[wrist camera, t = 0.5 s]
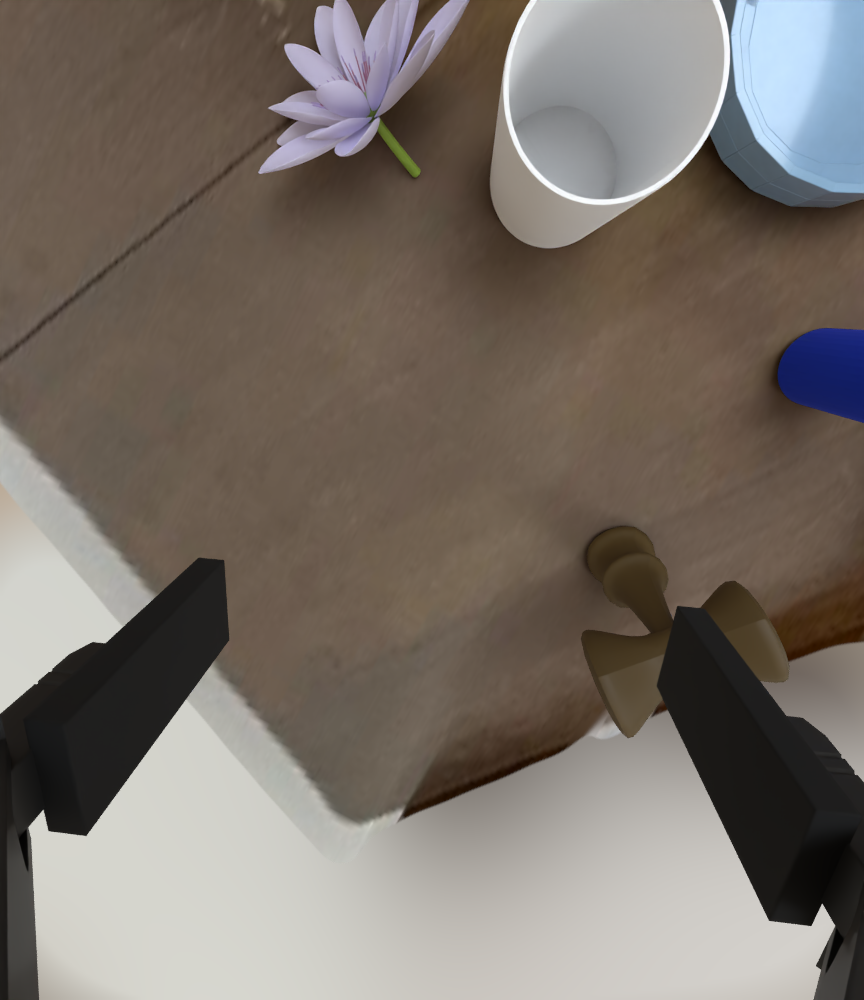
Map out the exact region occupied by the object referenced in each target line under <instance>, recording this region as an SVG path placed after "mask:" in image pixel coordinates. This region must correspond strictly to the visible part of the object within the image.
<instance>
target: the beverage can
mask: <svg viewBox="0 0 864 1000" xmlns="http://www.w3.org/2000/svg"><path fill="white" fill-rule="evenodd" d="M778 382H779V386H780V388H781V390H782V392H783V393H784V395H785V396H786V397H787V398H788V399H790V400H791V401H793V402H795V403H797V404H801V405H804V406H808V407H811V408H814V409H818V410H821V411H825V412H828V413H832V414H835V415H838V416H842V417H845V418H849V419H852V420H856V421H859V422H862V423H864V330H853V329H834V328H822V329H816V330H813V331H810V332H808V333H806V334H804V335H802V336H800V337H799V338H798V339H796V340H795V341H794V342H793V343H792V344H791V345H790V346H789V347H788V349H787V350H786V351H785V353H784V355H783V356H782V359H781V361H780V364H779V367H778Z"/></svg>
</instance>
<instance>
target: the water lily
mask: <svg viewBox="0 0 864 1000" xmlns="http://www.w3.org/2000/svg"><path fill="white" fill-rule="evenodd" d="M418 2H419V0H386V1H385V2H384V4H383V5H382V6H381V7H380V9H379V10H378V11H377V13H376V15H375V16H374V18H373V20H372V22H371V24H370V26H369V28H368V31H367V34H366V37H365V41H363V37H362V34H361V31H360V28H359V25H358V23H357V20H356V18H355V15H354V13H353V11H352V9H351V7H350V5H349V3H348V2H347V1H346V0H335V2H334V8H333V9H332V8H330V7H328V6H319V7H318V8H317V10H316V14H315V21H314V30H315V37H316V42H317V46H318V49H319V51H320V54H321V55H319V54H318V53H316V52H315V51H313V50H311V49H309V48H307V47H304V46H302V45H297V44H285V46H284V48H285V52H286V54H287V56H288V58H289V60H290V62H291V63H292V64H293V66H294V67H295V68H296V70H297V71H298V72H299V73H300V74H301V75H302V76H303V77H304V79H305V80H306V81H307V82H308V83H309V84H311V85H312V86H313V87H314V88H315V89H316V90H317V91H303V92H299V93H296V94H294V95H292V96H290V97H289V98H287V99H286V100H285V101H284V102H283V103H279V104H275V105H273V106H270V107H269V108H268V109H270V110H272V111H274V112H276V113H279V114H281V115H283V116H286V117H289V118H292V119H295V120H298V121H297V122H295V123H294V124H293V125H291V126H290V127H289V128H288V129H287V130H286V131H285V132H284V133H283V134H282V135H281V136H280V137H279V138H278V139H277V144H278V145H280V146H282V147H280V148H279V149H278V150H276V151H275V152H274V153H273V154H272V155H271V156H270V157H269V158H268V159H267V160H266V161H265V162H264V164H263V165H262V167H261V168H260V170H259V174H263V173H269V172H274V171H279V170H283V169H287V168H290V167H293V166H296V165H299V164H302V163H304V162H307V161H309V160H312V159H314V158H316V157H318V156H320V155H322V154H324V153H325V152H327V151H329V150H331V149H332V148H334V147H335V153H336V155H338V156H342V157H346V156H351V155H353V154H355V153H357V152H359V151H360V150H362V149H363V148H364V147H365V146H367V145H368V143H369V142H370V141H371V140H372V139H373V137H374V135H375V134H376V132H377V131H378V133H379V134H380V135H381V137H382V138H383V139H384V141H385V142H386V144H387V145H388V146H389V148H390V149H391V150H392V152H393V153H394V154H395V155H396V157H397V158H398V159H399V161H400V162H401V163H402V164H403V166H404V167H405V168H406V169H407V170H408V172H409V173H410V174H411V175H412V176H413V177H417V176H418V175H419V174H420V171H421V170H420V168H419V167H418V166H417V165H416V164H415V163H414V161H413V160H412V159H411V158H410V157H409V155H408V154H407V153H406V152H405V151H404V149H403V148H402V147H401V145H400V144H399V143H398V142H397V140H396V139H395V138H394V136H393V135H392V134H391V132H390V131H389V130H388V128H387V127H386V126H385V124H384V123H383V121H382V120H381V119H380V115H381V114H383V113H385V112H386V111H387V110H389V109H390V108H391V107H392V106H393V105H395V104H396V103H397V102H398V100H399V99H400V98H401V97H402V96H403V95H404V94H405V93H406V92H407V91H408V90H409V89H410V88H411V87H412V86H413V85H414V84H415V83H416V82H417V81H418V79H419V78H420V77H421V76H422V75H423V74H424V72H425V71H426V70H427V69H428V67H429V66H430V65H431V64H432V62H433V61H434V60H435V58H436V57H437V55H438V54H439V53H440V51H441V50H442V48H443V47H444V45H445V44H446V42H447V40H448V39H449V37H450V36H451V34H452V32H453V31H454V29H455V27H456V25H457V24H458V22H459V20H460V18H461V16H462V14H463V12H464V10H465V8H466V6H467V4H468V2H469V0H450V1H449V2H447V3H446V4H445V5H444V6H443V7H442V8H441V9H440V10H439V11H438V12H437V14H436V15H435V16H434V17H433V18H432V19H431V21H430V22H429V23H428V24H427V26H426V27H425V28H424V30H423V31H422V33H421V35H420V36H419V38H418V40H417V41H416V43H415V45H414V47H413V49H412V50H411V52H410V54H409V56H408V57H407V59H406V61H405V63H404V65H403V66H402V68H401V70H400V72H399V69H400V67H401V64H402V62H403V59H404V56H405V53H406V50H407V47H408V44H409V41H410V37H411V34H412V30H413V26H414V22H415V17H416V13H417V8H418ZM398 72H399V73H398Z"/></svg>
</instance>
